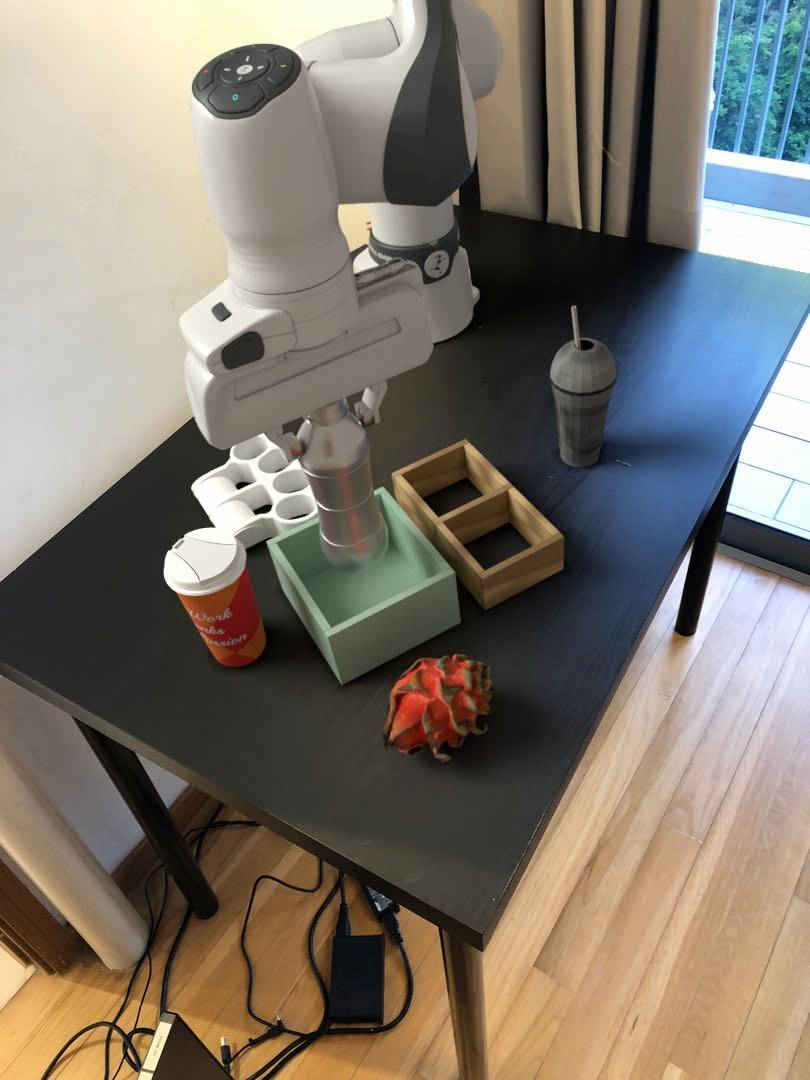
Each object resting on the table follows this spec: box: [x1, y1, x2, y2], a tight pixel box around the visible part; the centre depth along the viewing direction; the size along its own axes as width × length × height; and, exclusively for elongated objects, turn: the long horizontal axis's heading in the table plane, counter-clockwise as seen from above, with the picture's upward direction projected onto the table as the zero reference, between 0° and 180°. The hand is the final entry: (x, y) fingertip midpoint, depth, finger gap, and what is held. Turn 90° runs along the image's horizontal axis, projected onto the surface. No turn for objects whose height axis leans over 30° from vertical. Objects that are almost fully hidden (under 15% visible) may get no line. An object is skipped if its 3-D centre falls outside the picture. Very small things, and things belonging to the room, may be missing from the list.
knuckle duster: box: [191, 433, 318, 550], centre depth 103 cm, size 3×18×15 cm
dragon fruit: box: [382, 653, 495, 764], centre depth 78 cm, size 8×8×12 cm
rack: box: [391, 438, 565, 611], centre depth 95 cm, size 19×10×5 cm, turn 29°
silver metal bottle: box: [295, 397, 389, 573], centre depth 79 cm, size 6×7×20 cm
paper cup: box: [163, 527, 267, 668], centre depth 85 cm, size 8×8×14 cm
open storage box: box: [266, 486, 462, 686], centre depth 88 cm, size 15×14×8 cm
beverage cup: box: [548, 305, 618, 468], centre depth 96 cm, size 7×7×20 cm
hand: (330, 439), depth 75 cm, fingers closed on silver metal bottle, 6 cm apart
